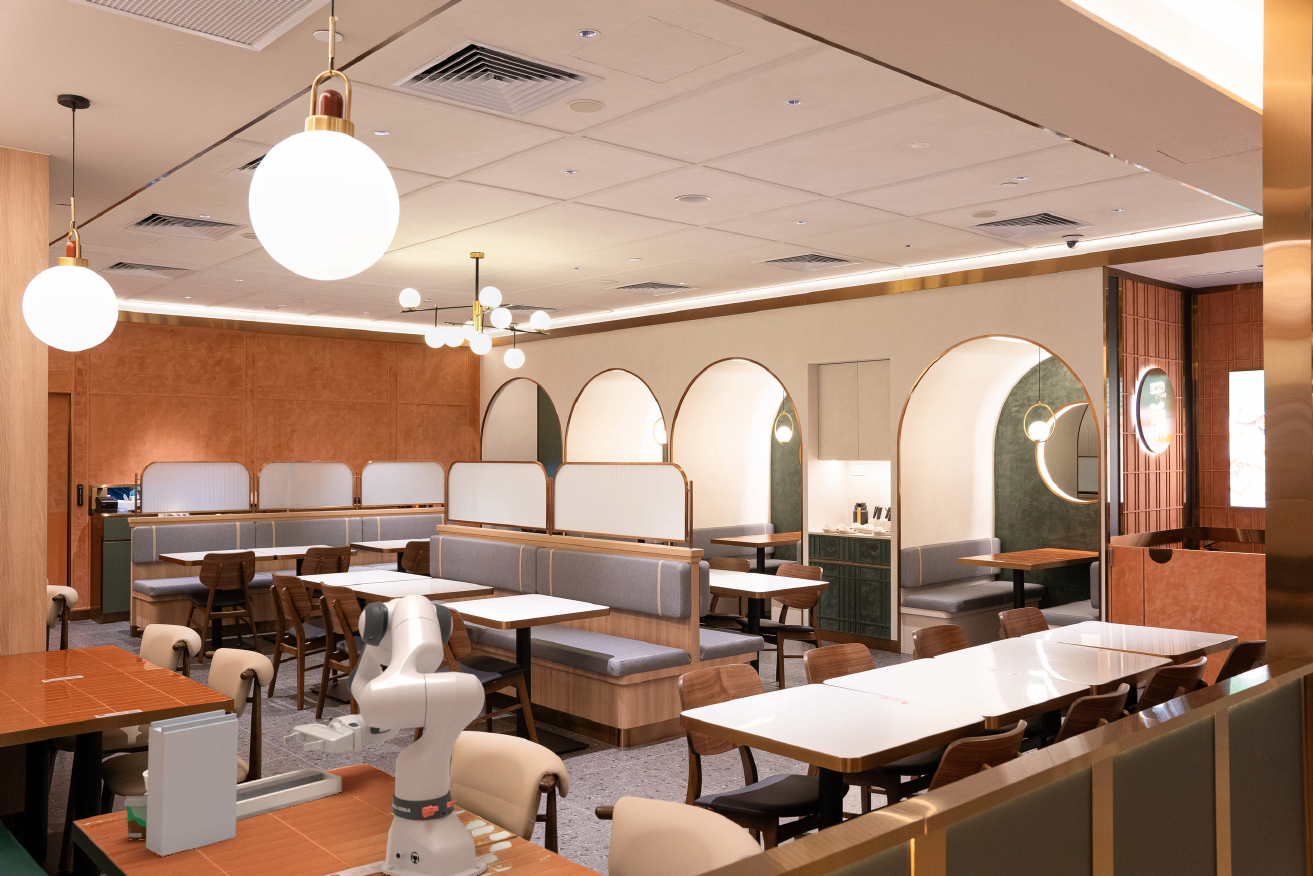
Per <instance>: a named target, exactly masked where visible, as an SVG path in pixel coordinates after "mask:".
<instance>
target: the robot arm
mask: <svg viewBox="0 0 1313 876" xmlns="http://www.w3.org/2000/svg"><path fill="white" fill-rule="evenodd" d="M453 621H454V620H453V617H452V612H451V611H450V610H449V608H448V607H447V606H445V605H443V604H439V603H432V602H431V600H430V599H429V598H428V597H427V596H424V595H422V594H416V593H415V594H408V595H405V596H403V597H398V598H393V599H391V600H389V601H386V602H382V601H375V602H369V603H368V604H367V605H366V606H365V607H364V608H363V610H362V612H361V614H360V615H359V619H358V630H359V634H360V639H361V640H362V642H363V643H364V644H363V646H362V649H361V651H360V654H359V656H358V659H357V662H356V664H355V666H354V668H353V669H352V671H351V672H350V673H349V675H348V678H347V679H346V689H347V691H348V692H349V693H350V695H351V696H352V697H353V698H354V700H355V701H356V703H357V704H358V707H359V711H360V712H359V714H348V715H343V716H338V717H334V718H333V719H332V720H331V721H330V723H329V724H328V725H327V724H323V723H309V724H303V725H296V726H294V727H293V728H292V733H291V734H290V735H285V736H284V737H282V739H283V741H282V742H283V744H285V745H291V744H293V743H294V742H296V743H299V744H302V748H301V749H302V750H303V751H305V752H308V751H323V752H325V753H329V754H343V753H348V752H351V753H357V752H360V751H362V746H370V745H375V744H378V743H382V742H385V741H388V740H390V739H392V738H393V737H396V735H398V734H399V732H400V730H403V729H412V728H415V729H416V728H425V731H424V732H423V734H422V735H421V737H420V738H418V739H417V740H416V741H414V742H412V743H410V744H409V745H407V746H406V747H404V748H403V749H402V750H401V751H400V752H399V754H398V755H397V757H396V760H395V762H394V763H395V764H394V765H395V768H394V769H395V770H394V773H395V775H394V777H395V779H394V780H395V781H394V793H393V794H392V801H391V807H392V814H393V818H392V822H391V825H390V827H389V828H388V835H387V844H386V853H385V863H384V864H383V865H382V866H381V868H380V869H381V870H380V873H381V872H384V873H387V874H392V875H395V876H477V875H478V876H479V875H481V874H482V873H484V872H485V871H487V869H488V863H487V862H486V861H484V860H482V859H481V858H480V857H478V856H477V855H476V846H475V840H474V837H473V833H472V830H471V829H469V828H468V829H467V828H466V827H465V825H464V824H463V823H462V821H461V820H460V818H459V817H458V816H457V814H456V813H455V811H454V810H455V807H456V806H457V803H456V802H457V799H453V796H452V793H451V790H450V789H449V784H450V783H449V782H450V781H449V780H450V765H451V759H452V758H451V757H452V752H453V749H454V746H455V744H456V743H457V740H458V738H459V737H460V736H461V735H460V734H462V732H463V731H464V729H466V728H467V727H468V725H470V724H471V723H472V722H473V721H474V720H476V718H477V717H478V716H479V715H480V713H481V712H482V711H483V707H484V704H485V701H486V700H485V697H486V696H485V688H484V687H483V684H482V682H481V680H480V679H479V678H478V677H477V675H475V674H472V673H466V672H457V671H445V672H436V671H437V670H438V669H439V667H440V666H441V663H442V662H443V659H444V655H445V654H444V646H445V645H446V644H447V643H448V642H449V640H450V638H451V636H452V633H453V629H454V628H453V627H454V622H453ZM381 665H382V666H385V667H387V668H386V669H385V670H384V671H383V669H382V667H381Z"/></svg>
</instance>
